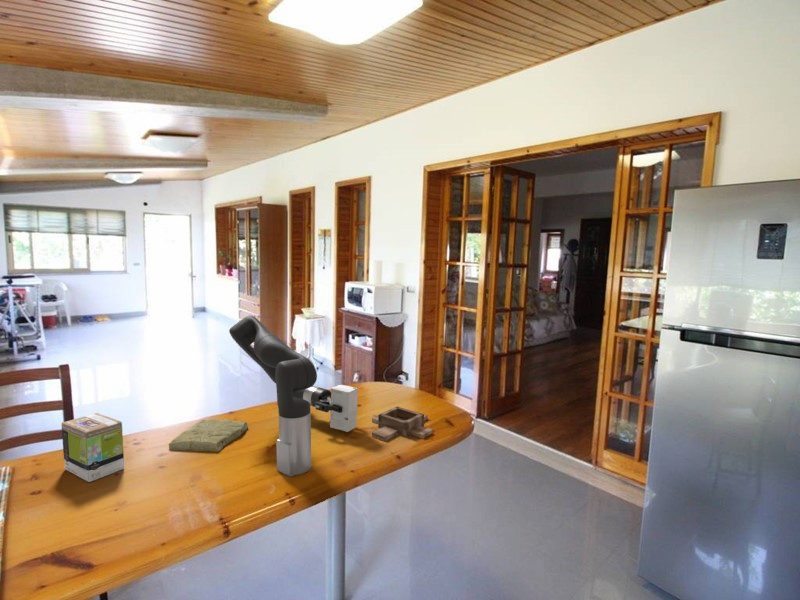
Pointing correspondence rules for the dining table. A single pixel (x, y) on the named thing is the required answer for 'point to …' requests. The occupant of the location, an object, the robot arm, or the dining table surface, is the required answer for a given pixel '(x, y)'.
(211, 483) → the dining table surface
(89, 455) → the tea box
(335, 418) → the skincare box
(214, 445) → the decorative tile
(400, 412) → the cross stand
